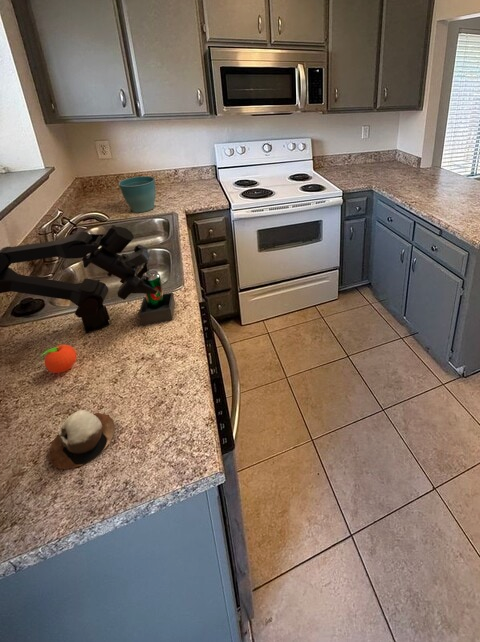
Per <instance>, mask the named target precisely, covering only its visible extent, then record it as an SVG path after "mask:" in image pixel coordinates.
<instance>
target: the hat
mask: <svg viewBox="0 0 480 642" xmlns="http://www.w3.org/2000/svg"><path fill="white" fill-rule="evenodd" d="M115 429H116V425H115V422H114V419H113V418H112V417H111V416H110V415H107V414H105V413H98V412H97V413H92V412H90V411H88V410H87V409H80V410H78V411H75V412H73V413H72V414H70V415H69V416H68V417H67V418H66V420H65V421H64V422H63V423H62V425H61V427H60V430H59V432H58V434H57V435H56V436H55V437H54V438H53V439H52V442H51V444H50V447H49V449H48V459H49V462H50V463H51V465H52V466H53V467H55V468H57V469H63V470H66V469H67V470H68V469H74V468H77V467H81V466H82V465H85V464H88V463H90V462H91V461H93V460H94V459H96V458H97V457H98V456H99V455H100V454H102V453H103V451H105V449H106V448H107V447H108V446H109V444H110V443H111V441H112V440H113V437H114V435H115V434H114V433H115V432H116V431H115Z"/></svg>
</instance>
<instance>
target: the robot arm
mask: <svg viewBox="0 0 480 642" xmlns="http://www.w3.org/2000/svg"><path fill="white" fill-rule="evenodd" d="M134 237H135V235H134V233H132V231H130V230H129V229H128V228H126V227H122V226H116V225H114V224H112V225H110V227H109V229H108V230H107V232H105V233H88V231H79V232H76V233H71V234H69V235H67V236H64V237H62V238H59V239H57V240H50V241H44V242H36V243H29V244H23V245H22V244H21V245H16V246H5V247H2V248H1V249H0V294H4V293H11V292H12V293H18V294H19V293H20V294H26V295H32V296H40V297H45V298H53V299H60V300H66V301H70V302H72V303H73V304H74V305H76V306H77V307H76V309H75V311H74V315H75V316H76V317H77V318H79V319H81V322H82V325H83V329H84V333H85V334H90V333H92V332H95V331H98V330H100V329H103V328H105V327H108V326H110V322H109V321H110V319H111V318H110V315H109V312H108V308H107V306H106V305H104V302H105V300H106V297H107V296H108V293H109V287H108V286H107V284H106V283H105V282H102V281H101V280H100V279H91V278H88V277H87V278H86V277H85V278H84V279H83V280H82V282H78V283H74V282H67V281H62V280H55V279H49V278H43V277H37V276H31V275H25V274H19V273H18V272H16V271H15V270H13V269H12V268H11V267H10V266H11V265H12V264H17V263H18V264H19V263H26V262H30V261H37V260H45V259H51V258H63V259H66V260H69V259H70V260H71V259H81V260H82V264H83V265H82V266H83V268H84V269H85V268H88V267H89V265H90V264H93V265H94V266H96V267H97V268H100V269H101V270H103V271H105V272H107V275H106V276H108V277H111V276H115V277H116V278H118V279H120V281H119V283H121V285H120V286H119V288H118V290H117V298H119V299H122V300H126V299H127V298H128V297H129V296H130V295H131V294H145V293H146V294H156V293H157V290H156V289H154V288H153V287H152V286H150V285H149V284H147V283H146V282H144V279H143V274H144V273H145V272H147V271H151V270H150V268H149V260H150V257H151V254H150V253H149V252H148V250H149V248H148V247H146V246H144V245H141V244H136V245H134V248H133V251H132V252H131V254H129V255H128V254H126V253H122V252H123V251H124V250H125V249H126V248H127V246H128V245H129V244H131V242H132V241H133V240H134ZM121 253H122V254H121ZM120 254H121V255H120Z"/></svg>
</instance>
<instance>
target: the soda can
mask: <svg viewBox="0 0 480 642" xmlns="http://www.w3.org/2000/svg"><path fill="white" fill-rule="evenodd" d="M143 279H144V282H146V283H147V284H149V285H150V286H152V287H153V288H154V289H156V290H157V293H156V294H146V293H144V295H145V296H144V297H146V301H147V305H148V308H150V309H159V308H161V307H162V306H163V305H164V303H165V301H164V296H163V294H164V291H163V286H162V281H161V275H160V273H159V272H158V270H155V269H151V270H150V271H147V272H145V273H144V274H143Z"/></svg>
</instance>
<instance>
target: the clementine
mask: <svg viewBox="0 0 480 642" xmlns="http://www.w3.org/2000/svg"><path fill="white" fill-rule="evenodd" d="M45 354H46V355H45ZM43 355H45V358H44V360H43V361H44V367H45V369H46V370H47V371H49V372H51V373H54V374H61V373H64V372H66V371H68V370H69V369H71V368H72V367H73V366H74V364H75V363H76V361H77V358H78V355H77V350H76V349H75V348H74V347H73V346H71V345H68V344H60V345H57V346H55V347H52V348H49V349H47V350H46V351H45V352H43V353H42V355H41V356H43ZM41 358H42V357H40V358H39V360H41Z"/></svg>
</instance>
